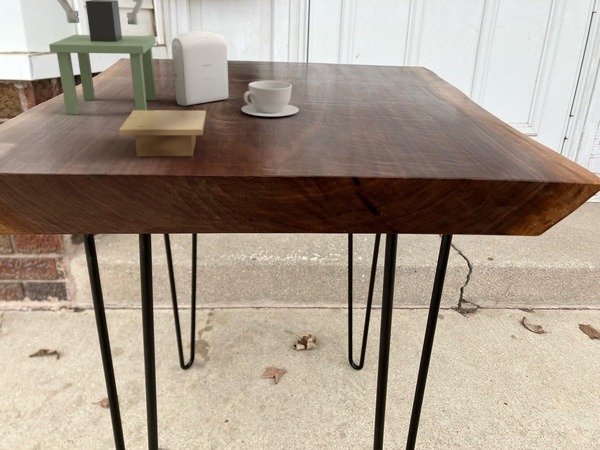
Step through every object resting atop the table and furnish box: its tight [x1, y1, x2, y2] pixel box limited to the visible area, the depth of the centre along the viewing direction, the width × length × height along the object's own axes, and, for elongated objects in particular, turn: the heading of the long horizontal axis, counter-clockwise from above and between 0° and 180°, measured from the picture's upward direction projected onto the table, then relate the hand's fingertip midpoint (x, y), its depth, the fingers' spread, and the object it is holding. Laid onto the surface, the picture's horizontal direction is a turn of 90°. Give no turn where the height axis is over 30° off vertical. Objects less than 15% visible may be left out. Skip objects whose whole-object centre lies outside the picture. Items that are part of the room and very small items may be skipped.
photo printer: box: [171, 29, 229, 107], centre depth 95 cm, size 10×4×12 cm, turn 133°
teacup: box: [240, 80, 300, 117], centre depth 91 cm, size 10×10×5 cm
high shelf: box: [48, 34, 157, 116], centre depth 90 cm, size 14×14×11 cm
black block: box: [85, 0, 123, 42], centre depth 86 cm, size 4×5×6 cm
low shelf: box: [118, 109, 207, 158], centre depth 70 cm, size 10×10×4 cm
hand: (103, 23), depth 86 cm, fingers open, 8 cm apart
